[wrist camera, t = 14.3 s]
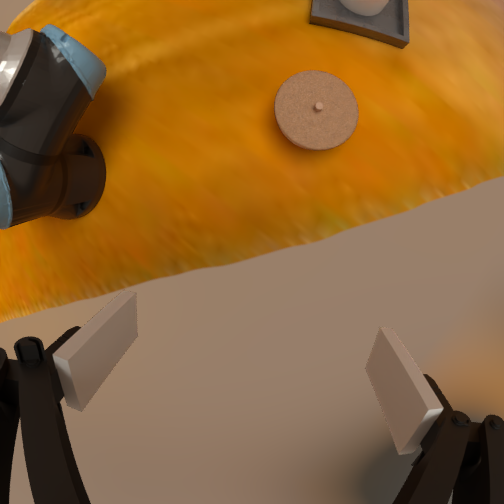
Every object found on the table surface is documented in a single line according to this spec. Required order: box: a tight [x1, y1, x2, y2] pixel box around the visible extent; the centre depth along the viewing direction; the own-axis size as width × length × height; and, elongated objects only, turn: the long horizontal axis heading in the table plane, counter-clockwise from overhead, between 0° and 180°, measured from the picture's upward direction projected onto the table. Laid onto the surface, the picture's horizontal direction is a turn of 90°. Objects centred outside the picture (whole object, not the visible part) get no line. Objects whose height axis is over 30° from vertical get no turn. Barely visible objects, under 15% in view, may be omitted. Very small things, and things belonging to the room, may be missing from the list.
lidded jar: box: [274, 70, 358, 150], centre depth 36 cm, size 11×11×9 cm
